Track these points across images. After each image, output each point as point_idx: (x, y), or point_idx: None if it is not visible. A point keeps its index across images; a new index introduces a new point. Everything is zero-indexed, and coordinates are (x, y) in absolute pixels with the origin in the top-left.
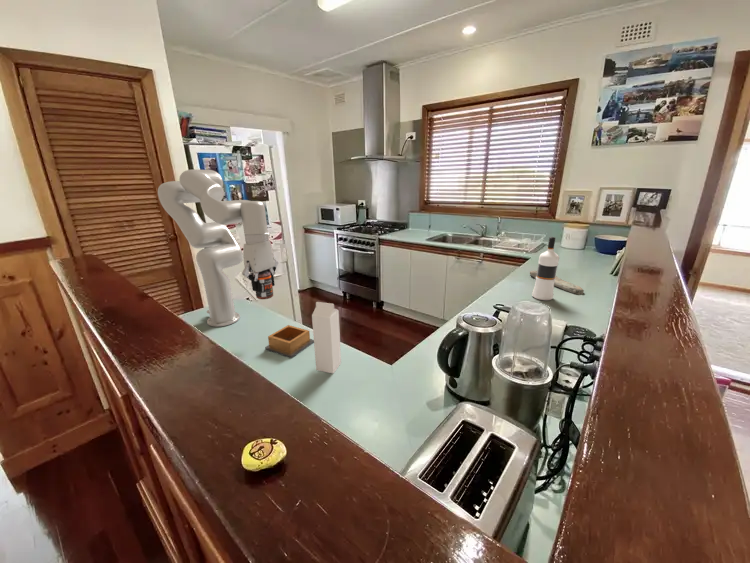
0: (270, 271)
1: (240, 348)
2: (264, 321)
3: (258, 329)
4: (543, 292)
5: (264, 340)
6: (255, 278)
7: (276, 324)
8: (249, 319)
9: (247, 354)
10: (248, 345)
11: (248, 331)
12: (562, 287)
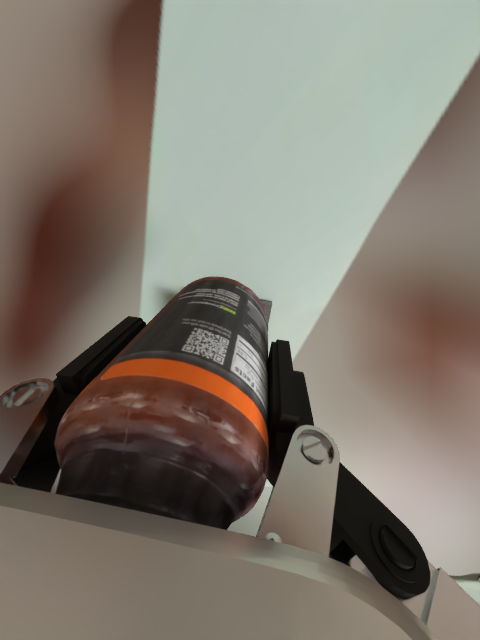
0: (259, 526)
1: (161, 220)
2: (348, 142)
3: (276, 177)
4: None
5: (223, 255)
6: (40, 461)
7: (329, 217)
8: (362, 24)
9: (153, 262)
10: (183, 230)
11: (251, 148)
12: None
